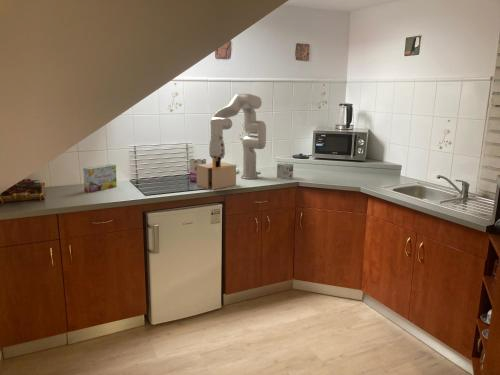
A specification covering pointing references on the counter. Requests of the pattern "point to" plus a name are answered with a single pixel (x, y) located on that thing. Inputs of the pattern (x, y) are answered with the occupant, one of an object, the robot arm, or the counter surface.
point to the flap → (222, 175)
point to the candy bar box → (195, 167)
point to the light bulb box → (285, 170)
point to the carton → (206, 174)
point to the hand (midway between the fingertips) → (216, 166)
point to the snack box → (99, 177)
